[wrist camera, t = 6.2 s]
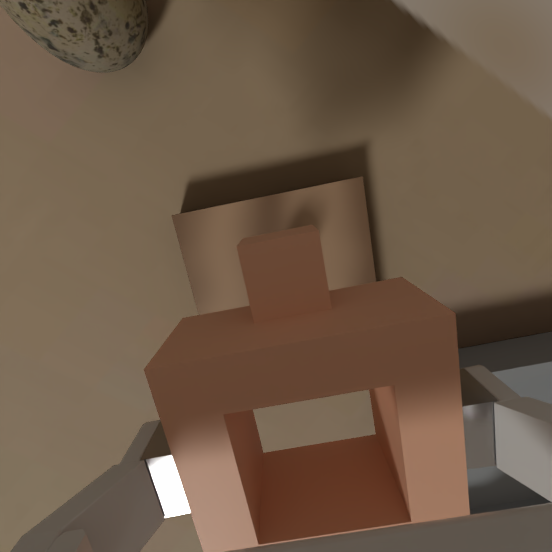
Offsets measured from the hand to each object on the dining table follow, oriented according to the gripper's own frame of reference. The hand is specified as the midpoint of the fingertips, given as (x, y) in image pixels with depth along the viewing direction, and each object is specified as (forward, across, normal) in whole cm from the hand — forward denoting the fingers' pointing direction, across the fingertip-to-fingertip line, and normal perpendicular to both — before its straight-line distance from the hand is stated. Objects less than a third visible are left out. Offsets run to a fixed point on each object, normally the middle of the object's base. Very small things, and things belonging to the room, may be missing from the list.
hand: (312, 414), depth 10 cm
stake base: (+15, 0, 0) cm, 15 cm away
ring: (+1, 0, 0) cm, 1 cm away
